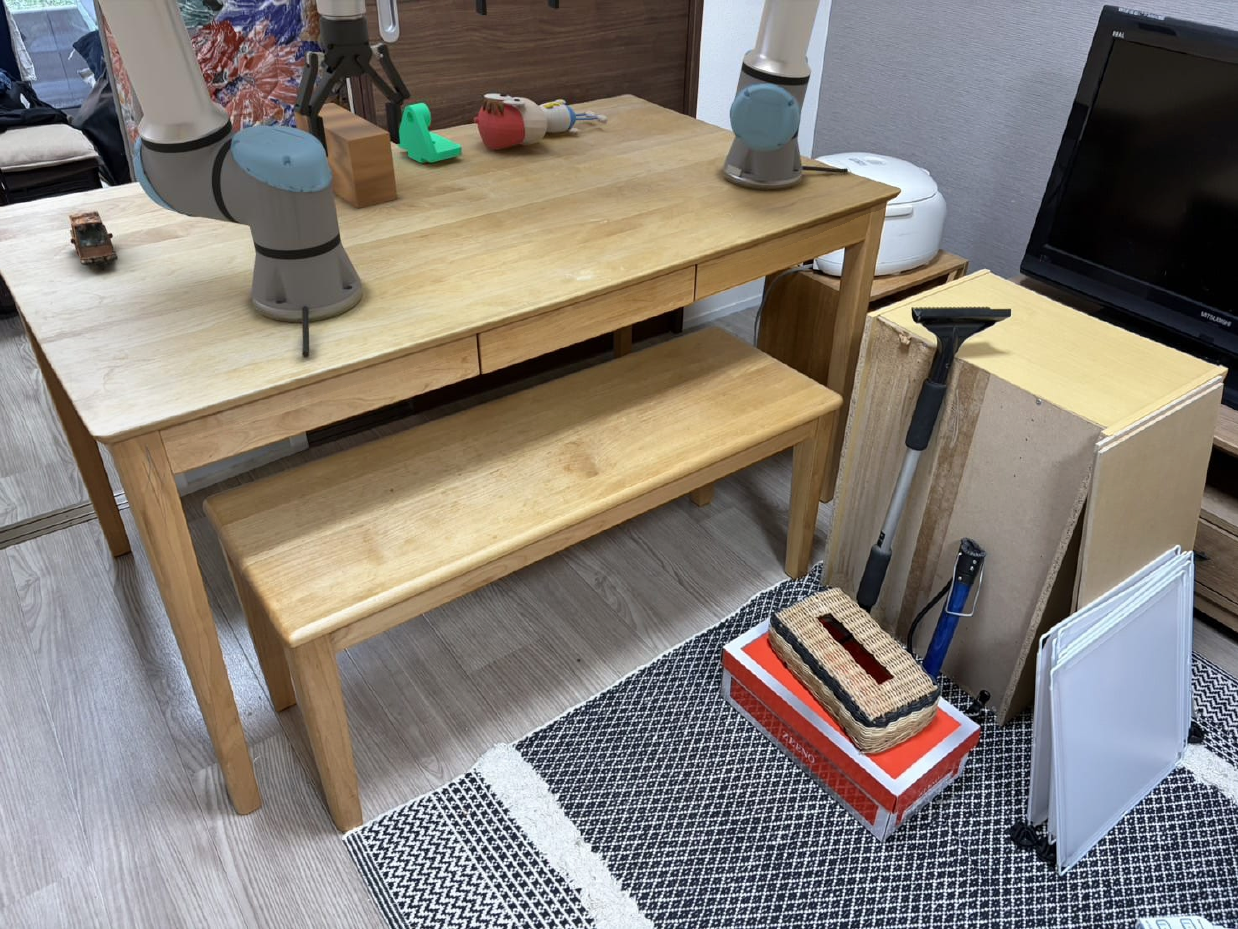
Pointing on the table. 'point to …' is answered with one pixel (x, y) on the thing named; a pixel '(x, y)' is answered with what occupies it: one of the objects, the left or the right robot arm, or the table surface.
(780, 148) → the right robot arm
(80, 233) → the toy car
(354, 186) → the box
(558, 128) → the toy
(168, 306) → the table surface
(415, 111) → the camera mount
